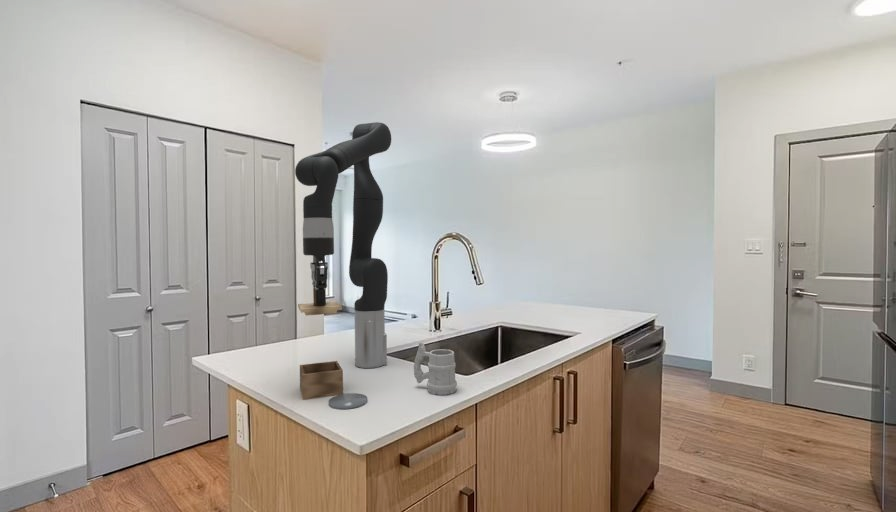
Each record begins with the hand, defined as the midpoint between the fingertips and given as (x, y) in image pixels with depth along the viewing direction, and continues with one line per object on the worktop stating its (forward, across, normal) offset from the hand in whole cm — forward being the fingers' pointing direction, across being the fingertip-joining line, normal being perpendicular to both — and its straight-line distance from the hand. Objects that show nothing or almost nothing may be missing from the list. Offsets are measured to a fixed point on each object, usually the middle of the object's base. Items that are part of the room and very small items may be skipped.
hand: (319, 303), depth 110 cm
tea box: (+22, 0, 0) cm, 22 cm away
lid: (+1, 0, 0) cm, 1 cm away
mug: (+23, -11, -27) cm, 37 cm away
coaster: (+22, -11, -5) cm, 25 cm away
